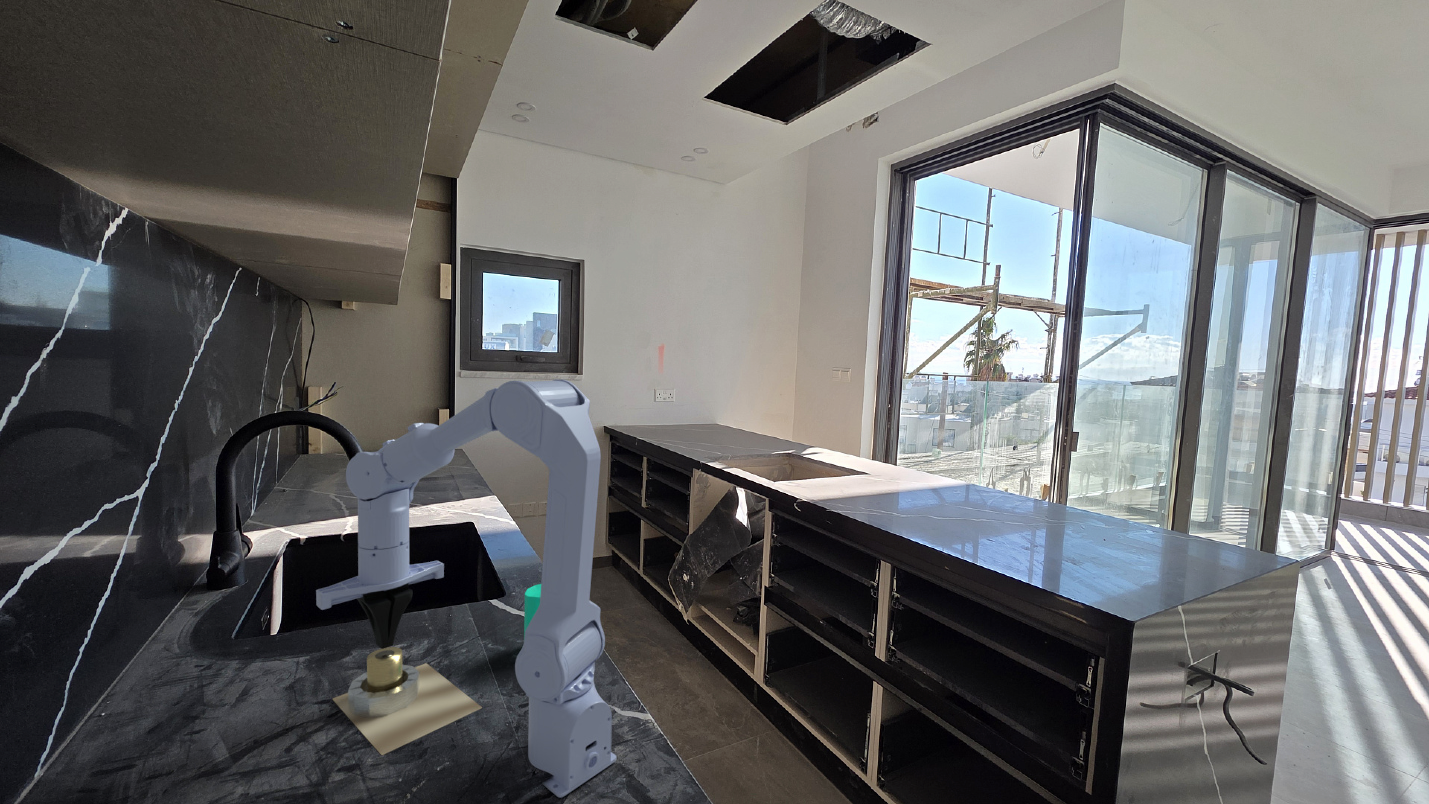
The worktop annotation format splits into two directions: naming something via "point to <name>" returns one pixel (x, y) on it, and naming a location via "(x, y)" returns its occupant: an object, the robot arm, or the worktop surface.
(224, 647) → the worktop surface
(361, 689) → the bore collar
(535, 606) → the candle
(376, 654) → the brass sleeve
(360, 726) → the jig plate
